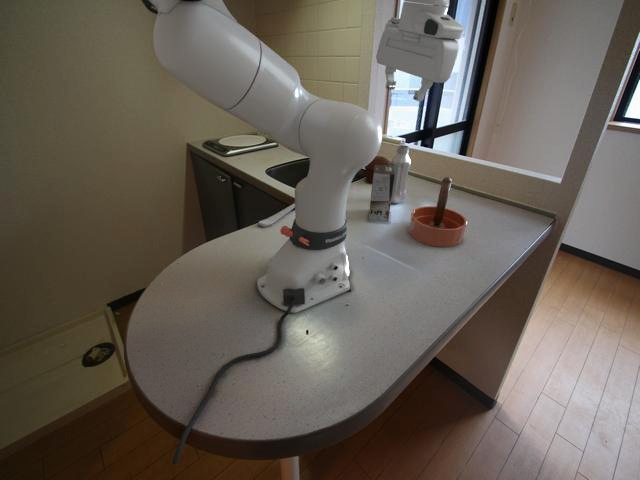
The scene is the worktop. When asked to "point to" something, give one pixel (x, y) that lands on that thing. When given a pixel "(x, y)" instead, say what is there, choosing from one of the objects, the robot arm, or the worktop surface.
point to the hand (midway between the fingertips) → (403, 94)
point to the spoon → (275, 216)
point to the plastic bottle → (400, 174)
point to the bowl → (437, 236)
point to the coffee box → (381, 192)
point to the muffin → (370, 167)
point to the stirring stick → (441, 204)
